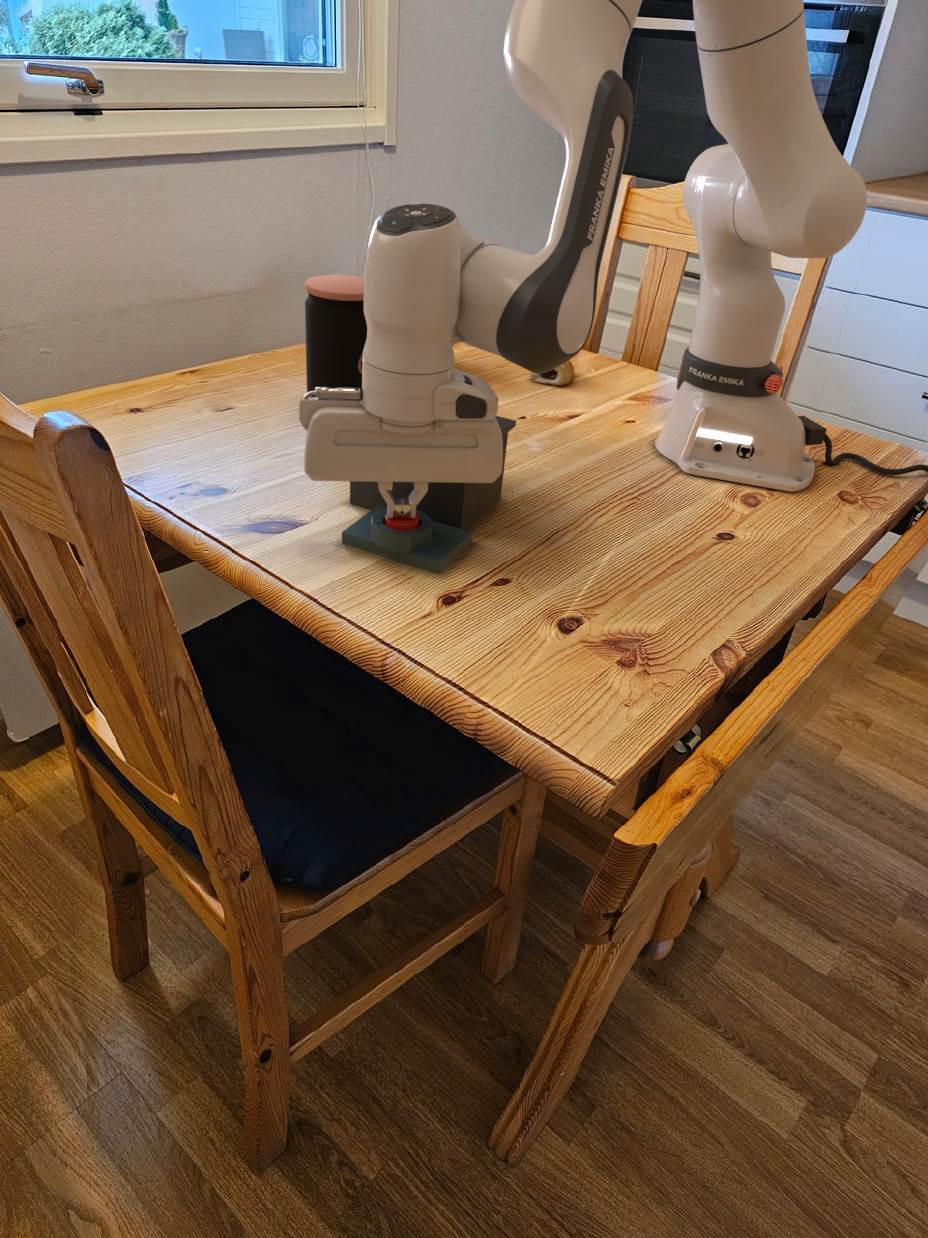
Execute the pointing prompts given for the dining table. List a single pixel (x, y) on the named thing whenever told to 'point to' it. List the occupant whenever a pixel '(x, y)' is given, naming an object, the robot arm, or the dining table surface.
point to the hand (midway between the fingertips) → (401, 516)
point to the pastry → (555, 375)
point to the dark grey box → (439, 498)
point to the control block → (408, 540)
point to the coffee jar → (334, 331)
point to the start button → (402, 523)
